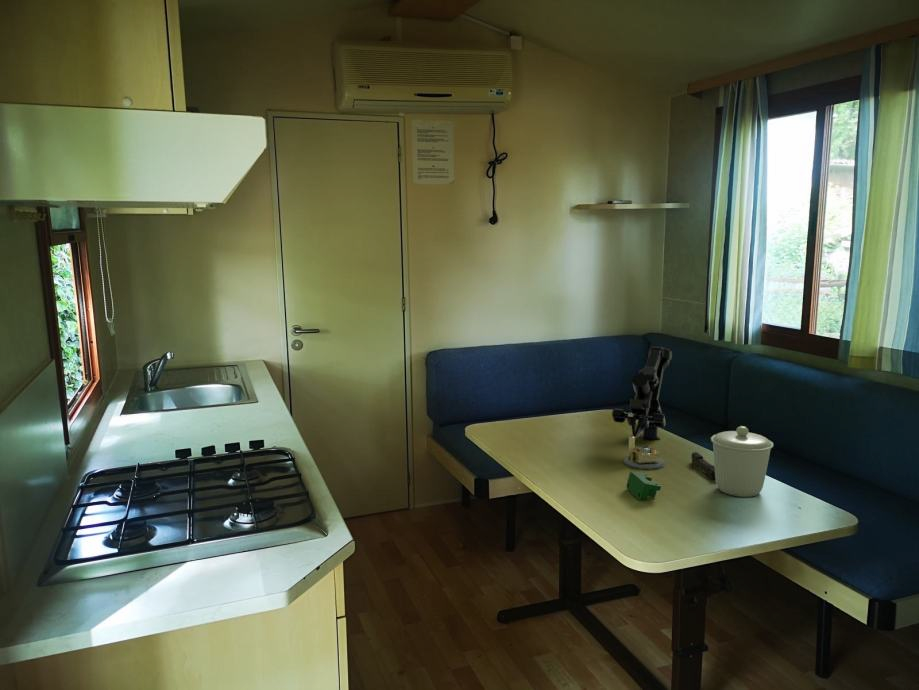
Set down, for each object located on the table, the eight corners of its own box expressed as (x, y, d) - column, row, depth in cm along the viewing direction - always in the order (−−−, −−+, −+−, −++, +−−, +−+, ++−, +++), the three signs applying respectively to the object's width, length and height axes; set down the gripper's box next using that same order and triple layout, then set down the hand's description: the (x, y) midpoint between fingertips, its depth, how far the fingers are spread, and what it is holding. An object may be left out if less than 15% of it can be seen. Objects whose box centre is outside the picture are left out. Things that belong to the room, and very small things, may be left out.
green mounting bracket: (651, 512, 215) (664, 491, 211) (634, 508, 214) (646, 487, 210) (641, 485, 226) (653, 464, 221) (624, 481, 224) (636, 460, 220)
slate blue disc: (629, 454, 257) (629, 440, 256) (668, 460, 251) (668, 445, 250) (619, 466, 245) (620, 450, 244) (660, 472, 239) (661, 456, 238)
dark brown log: (722, 481, 230) (723, 467, 230) (710, 481, 230) (711, 468, 229) (699, 463, 249) (700, 450, 248) (688, 463, 249) (689, 450, 248)
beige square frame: (623, 456, 250) (624, 433, 249) (649, 454, 252) (650, 432, 251) (633, 463, 243) (634, 440, 241) (660, 461, 245) (661, 438, 243)
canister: (740, 478, 232) (744, 416, 229) (783, 497, 215) (788, 431, 212) (695, 485, 226) (699, 422, 222) (736, 505, 209) (740, 437, 206)
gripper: (613, 387, 260) (605, 423, 252) (665, 392, 251) (657, 429, 243) (618, 403, 268) (610, 438, 260) (668, 408, 260) (661, 445, 252)
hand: (634, 437), depth 254 cm, fingers closed
